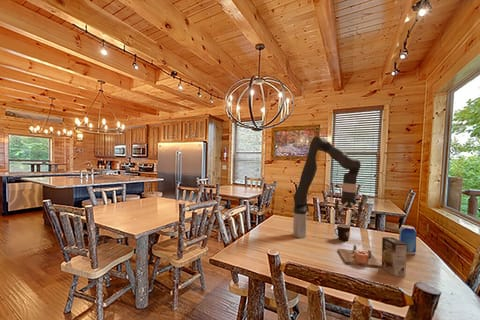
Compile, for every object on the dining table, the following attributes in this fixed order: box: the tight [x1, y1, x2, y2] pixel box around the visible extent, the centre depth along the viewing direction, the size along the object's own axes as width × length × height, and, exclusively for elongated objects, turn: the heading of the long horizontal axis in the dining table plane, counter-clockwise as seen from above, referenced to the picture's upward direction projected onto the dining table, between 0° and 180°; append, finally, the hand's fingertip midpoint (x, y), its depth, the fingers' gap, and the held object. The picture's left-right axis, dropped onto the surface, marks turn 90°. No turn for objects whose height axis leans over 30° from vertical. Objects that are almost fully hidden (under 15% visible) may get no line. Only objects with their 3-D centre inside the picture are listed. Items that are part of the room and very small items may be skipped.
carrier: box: [337, 244, 383, 269], centre depth 124 cm, size 18×18×5 cm
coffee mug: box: [334, 223, 351, 242], centre depth 154 cm, size 12×9×10 cm
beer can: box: [398, 224, 417, 255], centre depth 135 cm, size 8×8×16 cm
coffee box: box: [381, 236, 407, 277], centre depth 111 cm, size 9×6×16 cm
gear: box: [356, 250, 369, 264], centre depth 118 cm, size 6×6×4 cm
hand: (347, 217), depth 128 cm, fingers open, 8 cm apart
